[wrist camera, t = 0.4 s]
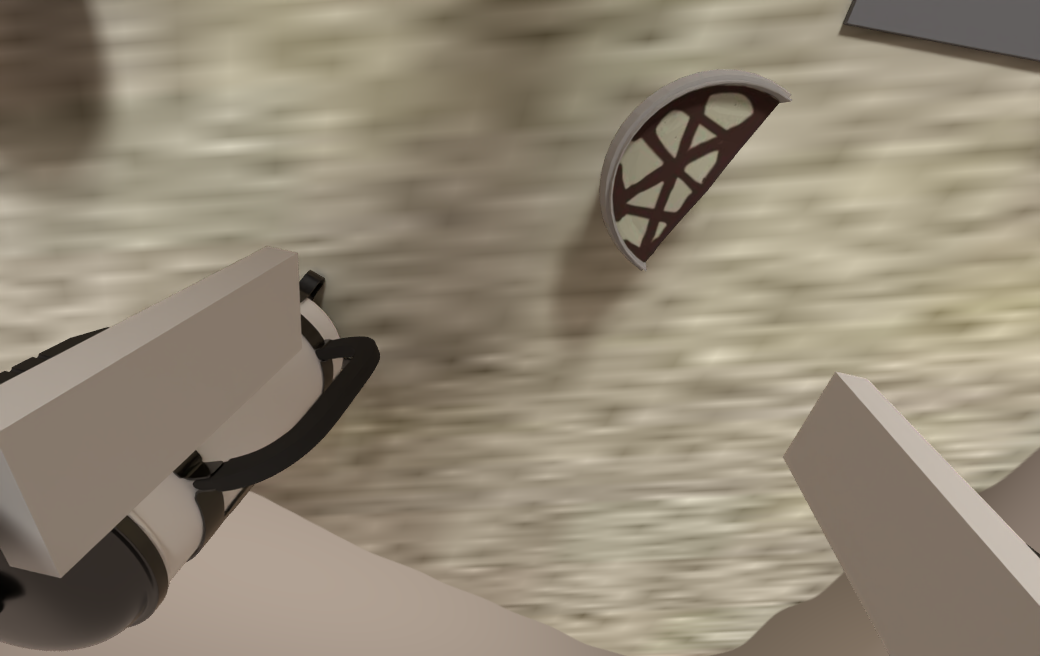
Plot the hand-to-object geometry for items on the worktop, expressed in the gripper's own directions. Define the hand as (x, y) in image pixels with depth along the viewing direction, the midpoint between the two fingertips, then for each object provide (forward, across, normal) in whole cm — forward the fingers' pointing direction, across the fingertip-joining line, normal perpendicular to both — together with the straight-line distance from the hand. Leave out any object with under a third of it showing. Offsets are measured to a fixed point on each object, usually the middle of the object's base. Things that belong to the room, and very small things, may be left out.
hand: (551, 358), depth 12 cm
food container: (+28, +5, +3) cm, 29 cm away
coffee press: (+28, -22, -19) cm, 40 cm away
